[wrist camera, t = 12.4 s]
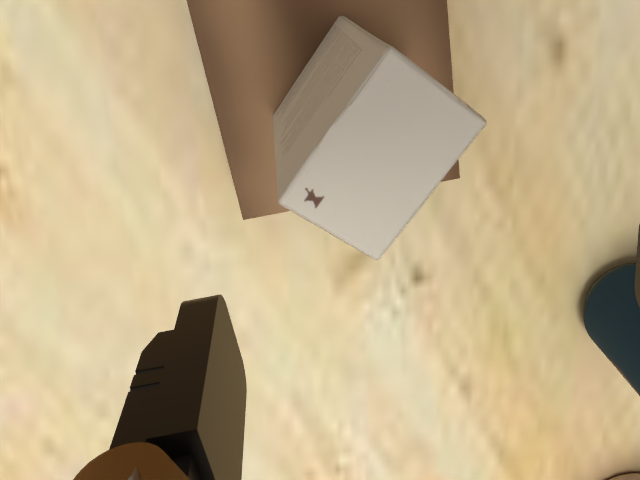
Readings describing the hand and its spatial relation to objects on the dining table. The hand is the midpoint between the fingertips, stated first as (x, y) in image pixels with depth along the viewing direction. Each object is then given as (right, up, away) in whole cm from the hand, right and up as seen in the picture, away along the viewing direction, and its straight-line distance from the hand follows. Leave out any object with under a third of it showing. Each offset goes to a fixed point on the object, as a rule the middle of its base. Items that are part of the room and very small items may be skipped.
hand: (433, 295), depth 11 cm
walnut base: (-2, +10, +21) cm, 24 cm away
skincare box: (-1, +9, +18) cm, 20 cm away
